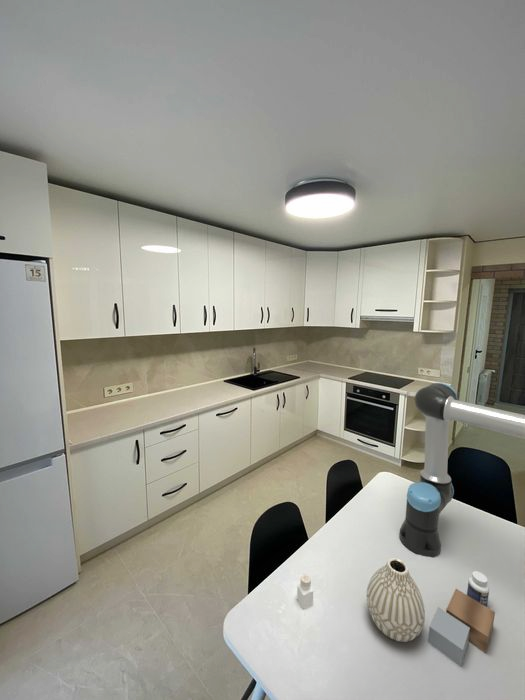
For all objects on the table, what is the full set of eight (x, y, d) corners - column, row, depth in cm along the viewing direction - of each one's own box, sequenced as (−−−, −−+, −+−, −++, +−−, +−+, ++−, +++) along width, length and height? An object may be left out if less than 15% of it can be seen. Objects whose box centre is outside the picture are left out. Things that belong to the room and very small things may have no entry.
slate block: (427, 644, 83) (429, 626, 82) (436, 624, 88) (438, 606, 87) (460, 669, 77) (462, 650, 76) (467, 646, 82) (469, 627, 82)
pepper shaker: (296, 600, 94) (297, 575, 93) (306, 596, 96) (307, 570, 95) (302, 612, 91) (303, 585, 89) (313, 607, 92) (314, 581, 91)
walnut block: (444, 626, 87) (446, 609, 87) (454, 604, 94) (455, 588, 93) (485, 655, 80) (487, 637, 79) (492, 629, 87) (494, 612, 86)
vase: (358, 597, 96) (362, 542, 93) (407, 599, 95) (412, 544, 93) (375, 653, 80) (380, 589, 77) (434, 656, 80) (440, 592, 77)
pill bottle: (481, 614, 91) (484, 586, 90) (463, 599, 96) (466, 573, 94) (490, 606, 93) (493, 579, 92) (472, 592, 98) (475, 566, 97)
